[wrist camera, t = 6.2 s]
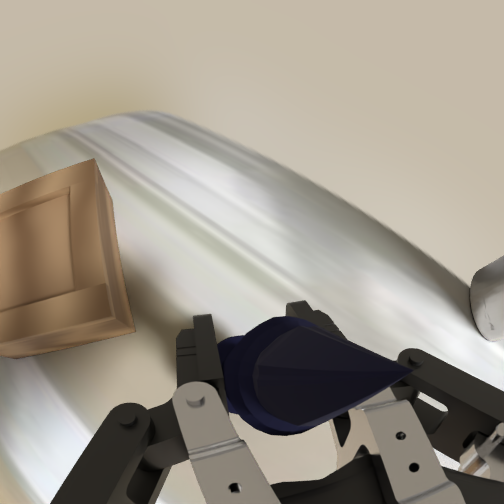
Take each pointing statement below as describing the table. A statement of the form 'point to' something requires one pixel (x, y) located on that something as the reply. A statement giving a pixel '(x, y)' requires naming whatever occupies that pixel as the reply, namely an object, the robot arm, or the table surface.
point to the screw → (299, 375)
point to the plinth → (60, 264)
